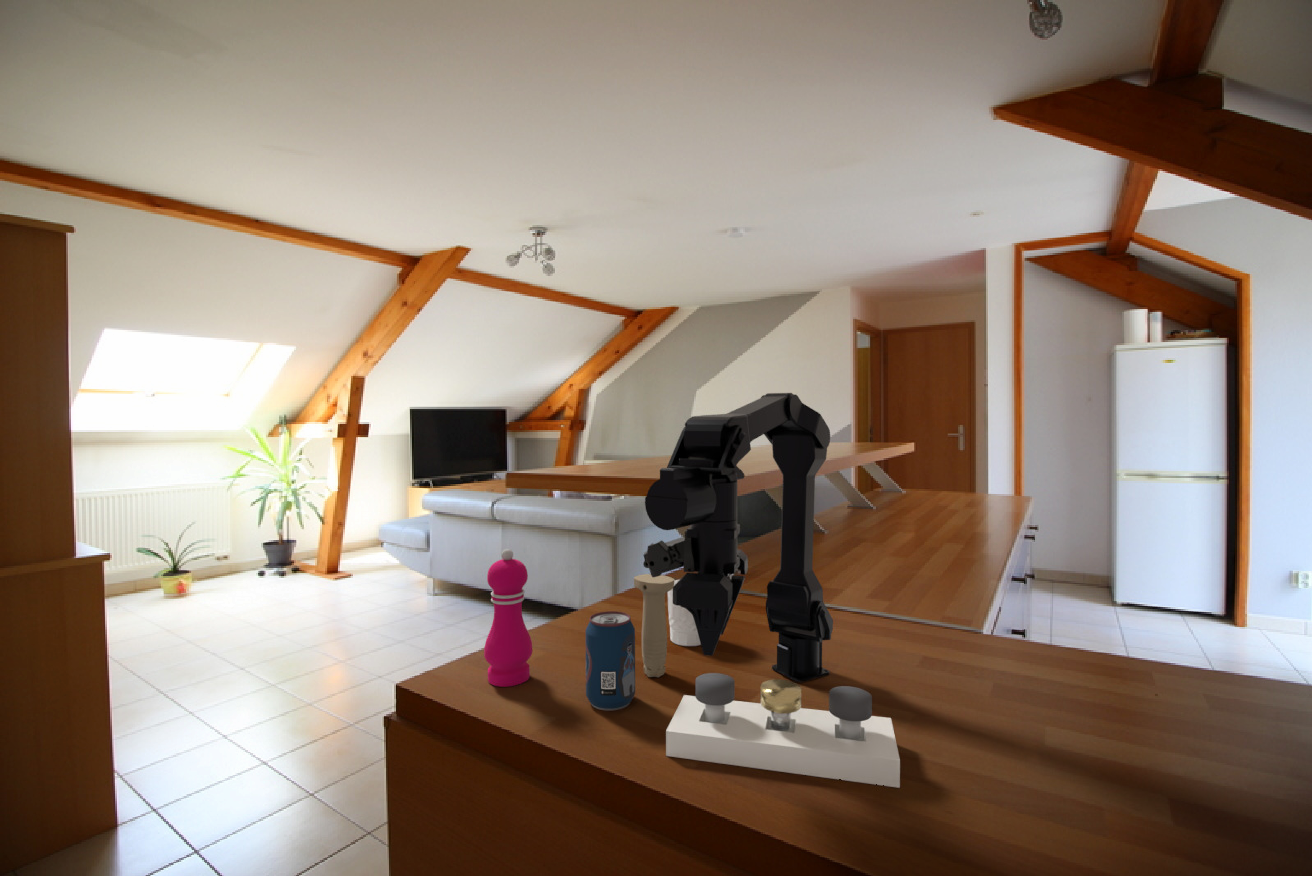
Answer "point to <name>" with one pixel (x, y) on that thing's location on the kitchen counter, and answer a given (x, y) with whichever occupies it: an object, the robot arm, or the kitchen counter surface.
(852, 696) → the knob
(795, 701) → the knob middle
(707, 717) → the knob
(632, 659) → the soda can
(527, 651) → the pepper mill
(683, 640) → the white cup
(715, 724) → the control plate
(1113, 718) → the kitchen counter surface
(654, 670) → the handle
